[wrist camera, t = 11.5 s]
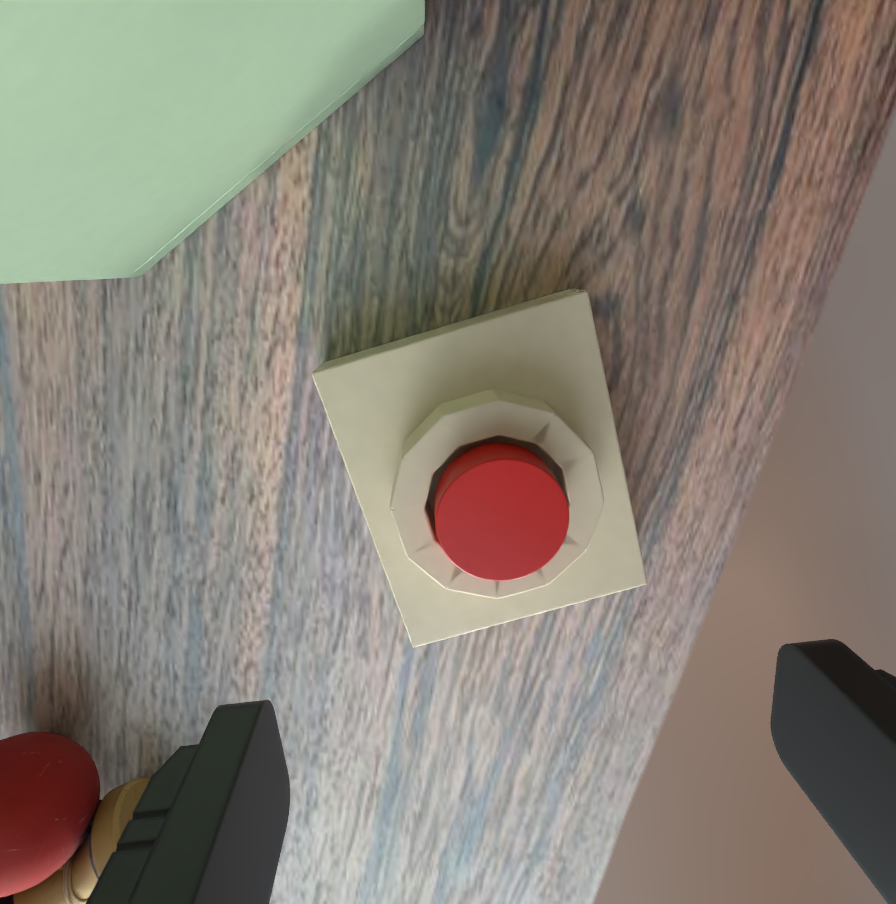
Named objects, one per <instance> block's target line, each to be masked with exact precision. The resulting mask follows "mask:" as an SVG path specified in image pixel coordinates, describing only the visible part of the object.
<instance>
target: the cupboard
mask: <svg viewBox="0 0 896 904" xmlns="http://www.w3.org/2000/svg"><path fill="white" fill-rule="evenodd" d="M424 22H425V0H0V283H22V282H43V281H65V280H86V279H107V278H127V277H140V276H142V275H143V274H144V273H145V272H147V271H148V270H149V269H150V268H151V267H152V266H154V265H155V264H156V263H157V262H158V261H160V260H161V259H162V258H163V257H164V256H165V255H167V254H168V253H169V252H170V251H171V250H172V249H174V248H175V247H176V246H177V245H178V244H179V243H181V242H182V241H183V240H184V239H185V238H187V237H188V236H189V235H190V234H191V233H192V232H194V231H195V230H196V229H197V228H198V227H199V226H201V225H202V224H203V223H204V222H205V221H206V220H208V219H209V218H210V217H211V216H212V215H213V214H215V213H216V212H217V211H218V210H219V209H221V208H222V207H223V206H224V205H225V204H226V203H228V202H229V201H230V200H231V199H232V198H233V197H235V196H236V195H237V194H238V193H239V192H240V191H242V190H243V189H244V188H245V187H246V186H247V185H249V184H250V183H251V182H252V181H253V180H255V179H256V178H257V177H258V176H259V175H260V174H262V173H263V172H264V171H265V170H266V169H267V168H269V167H270V166H271V165H272V164H273V163H274V162H276V161H277V160H278V159H279V158H280V157H281V156H283V155H284V154H285V153H286V152H287V151H289V150H290V149H291V148H292V147H293V146H294V145H296V144H297V143H298V142H299V141H300V140H301V139H303V138H304V137H305V136H306V135H307V134H308V133H310V132H311V131H312V130H313V129H314V128H316V127H317V126H318V125H319V124H320V123H321V122H323V121H324V120H325V119H326V118H327V117H328V116H330V115H331V114H332V113H333V112H334V111H335V110H337V109H338V108H339V107H340V106H341V105H342V104H344V103H345V102H346V101H347V100H348V99H350V98H351V97H352V96H353V95H354V94H355V93H357V92H358V91H359V90H360V89H361V88H362V87H364V86H365V85H366V84H367V83H368V82H369V81H371V80H372V79H373V78H374V77H375V76H376V75H378V74H379V73H380V72H381V71H382V70H384V69H385V68H386V67H387V66H388V65H389V64H391V63H392V62H393V61H394V60H395V59H396V58H398V57H399V56H400V55H401V54H402V53H403V52H405V51H406V50H407V49H408V48H409V47H410V46H412V45H413V44H414V43H415V42H416V41H418V40H419V39H420V38H421V37H422V36H423V35H424Z"/></svg>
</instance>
